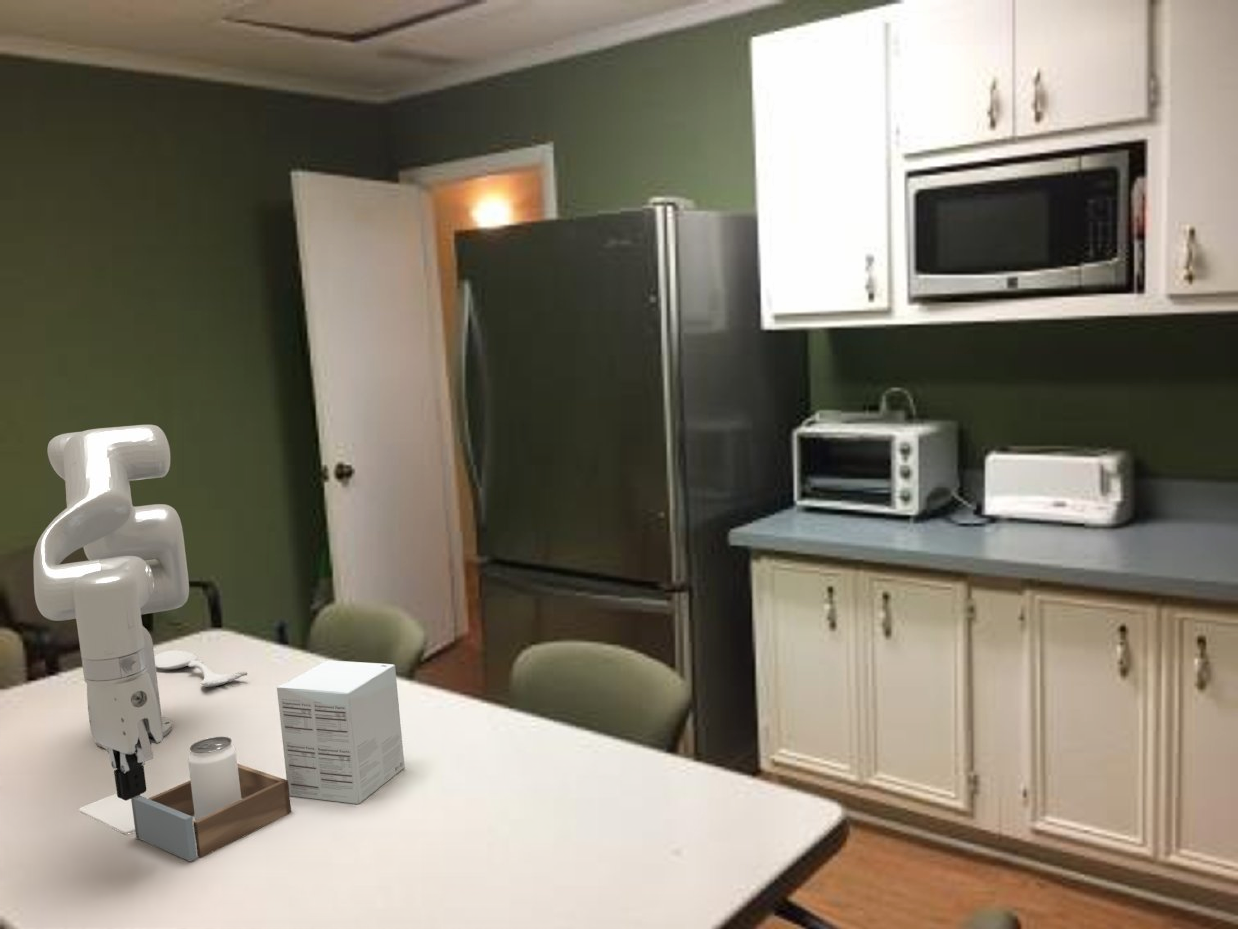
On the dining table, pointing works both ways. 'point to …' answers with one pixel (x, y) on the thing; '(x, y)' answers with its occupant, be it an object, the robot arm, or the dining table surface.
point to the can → (213, 775)
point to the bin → (233, 809)
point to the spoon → (184, 658)
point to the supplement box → (341, 730)
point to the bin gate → (164, 827)
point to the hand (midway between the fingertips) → (132, 794)
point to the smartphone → (112, 813)
